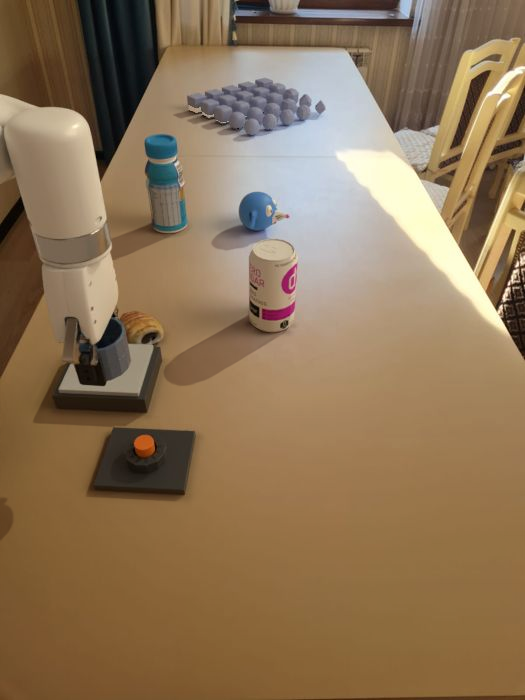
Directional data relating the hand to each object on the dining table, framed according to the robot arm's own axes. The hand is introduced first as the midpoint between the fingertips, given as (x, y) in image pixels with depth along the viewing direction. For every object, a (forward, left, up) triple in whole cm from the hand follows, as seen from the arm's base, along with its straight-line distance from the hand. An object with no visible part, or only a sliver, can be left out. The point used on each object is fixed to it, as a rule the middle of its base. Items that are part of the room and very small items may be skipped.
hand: (102, 361), depth 68 cm
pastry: (-2, +23, -16) cm, 28 cm away
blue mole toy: (+18, +63, -16) cm, 67 cm away
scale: (-4, +11, -15) cm, 20 cm away
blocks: (+12, +144, -16) cm, 146 cm away
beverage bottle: (-4, +63, -16) cm, 65 cm away
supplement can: (+21, +29, -16) cm, 39 cm away
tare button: (+5, -4, -13) cm, 14 cm away
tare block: (+5, -4, -15) cm, 16 cm away
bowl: (0, 0, -1) cm, 1 cm away
